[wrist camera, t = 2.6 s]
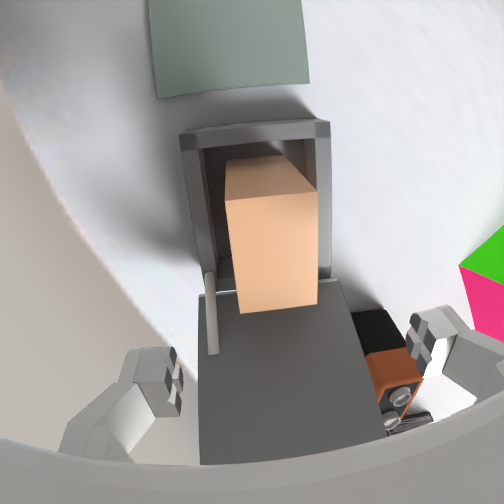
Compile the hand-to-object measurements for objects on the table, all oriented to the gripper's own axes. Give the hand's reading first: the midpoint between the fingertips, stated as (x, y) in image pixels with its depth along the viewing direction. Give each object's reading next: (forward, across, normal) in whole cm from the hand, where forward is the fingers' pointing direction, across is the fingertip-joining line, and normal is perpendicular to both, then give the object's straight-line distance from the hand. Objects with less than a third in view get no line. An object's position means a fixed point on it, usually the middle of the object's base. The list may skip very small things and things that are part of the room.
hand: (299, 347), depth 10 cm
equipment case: (+15, 0, +2) cm, 15 cm away
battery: (+15, -9, +14) cm, 23 cm away
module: (+14, 0, 0) cm, 15 cm away
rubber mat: (+14, +1, -14) cm, 20 cm away
